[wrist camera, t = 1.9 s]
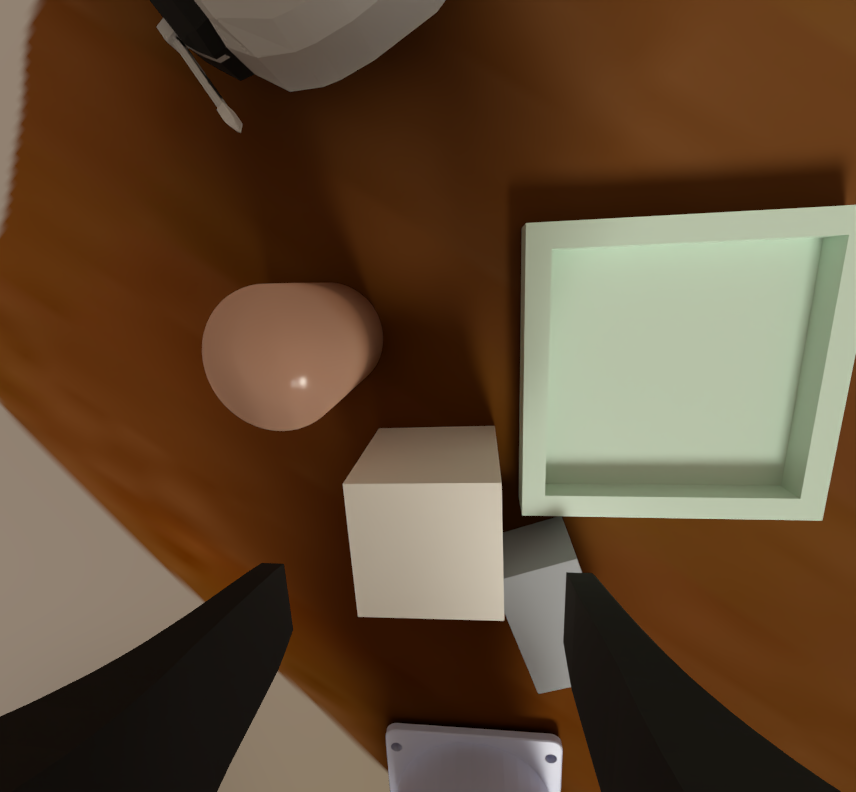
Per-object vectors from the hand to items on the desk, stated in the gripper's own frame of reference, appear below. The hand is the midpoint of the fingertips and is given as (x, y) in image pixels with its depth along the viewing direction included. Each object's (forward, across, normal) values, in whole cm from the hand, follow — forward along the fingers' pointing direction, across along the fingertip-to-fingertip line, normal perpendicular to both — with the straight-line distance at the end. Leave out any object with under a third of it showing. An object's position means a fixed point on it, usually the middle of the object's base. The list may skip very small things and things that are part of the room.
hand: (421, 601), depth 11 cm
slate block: (+7, -4, +4) cm, 9 cm away
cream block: (+7, 0, 0) cm, 7 cm away
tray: (+7, -8, -4) cm, 11 cm away
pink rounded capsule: (+7, +4, -6) cm, 10 cm away
